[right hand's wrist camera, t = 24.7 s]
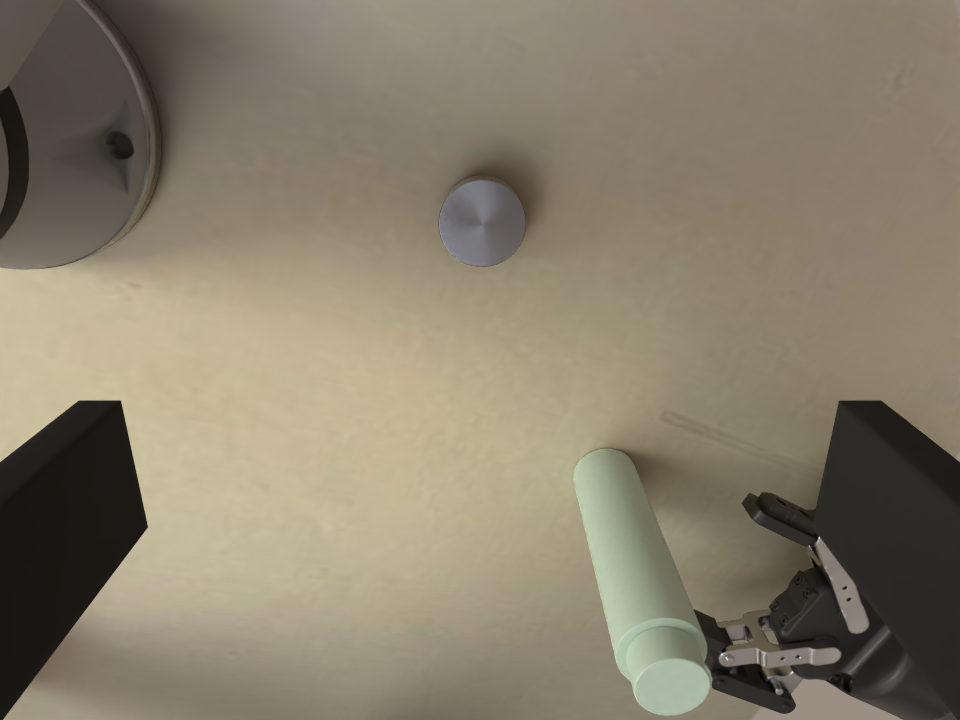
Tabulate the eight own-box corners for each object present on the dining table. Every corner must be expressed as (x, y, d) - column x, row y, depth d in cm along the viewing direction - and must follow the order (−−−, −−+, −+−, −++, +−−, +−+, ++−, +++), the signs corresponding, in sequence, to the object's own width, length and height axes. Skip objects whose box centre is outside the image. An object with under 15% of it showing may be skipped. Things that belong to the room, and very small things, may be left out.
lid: (539, 201, 38) (542, 207, 36) (497, 272, 39) (498, 282, 37) (466, 158, 37) (465, 162, 35) (426, 233, 38) (423, 240, 37)
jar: (591, 512, 45) (650, 736, 30) (561, 466, 44) (606, 676, 28) (646, 484, 45) (737, 699, 29) (617, 437, 43) (695, 636, 28)
